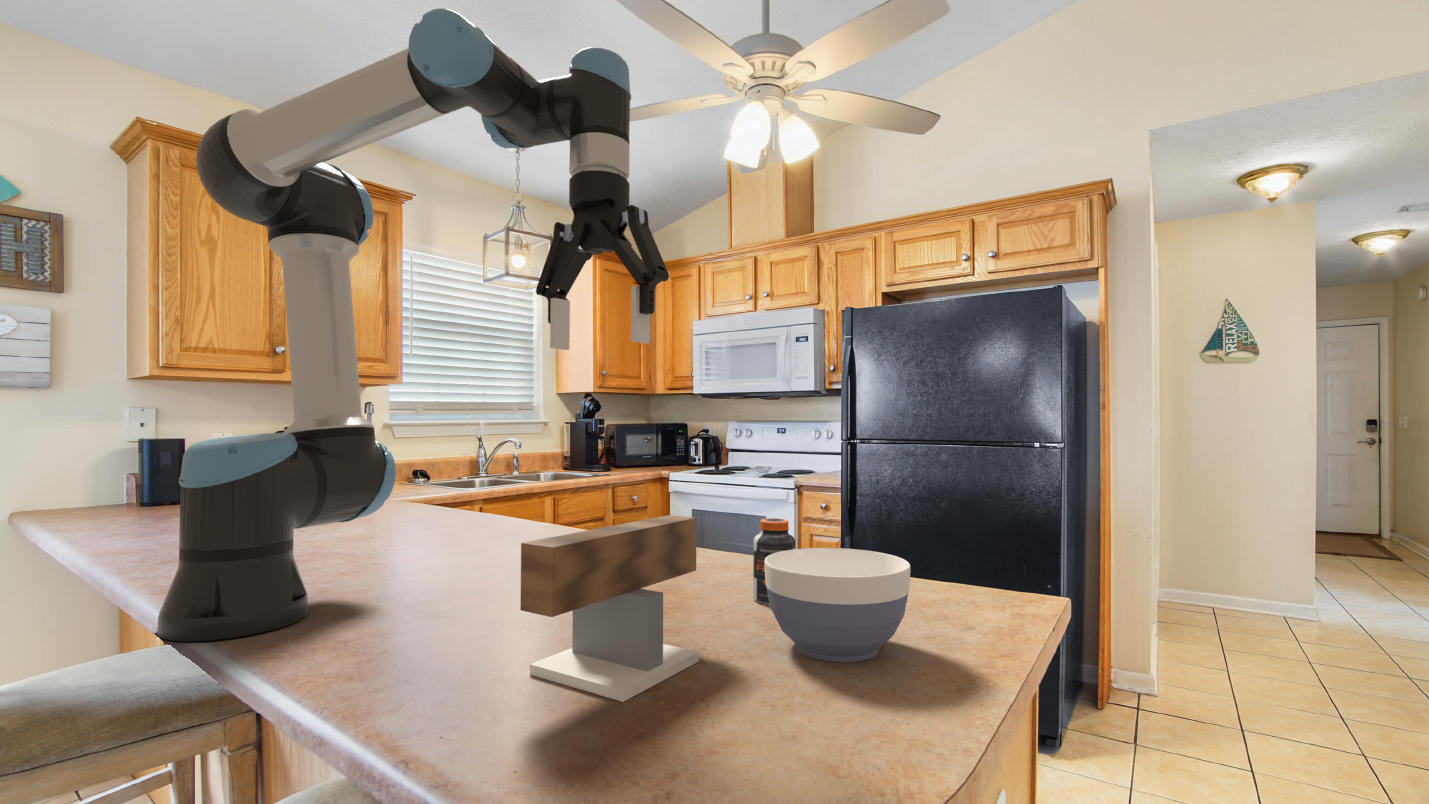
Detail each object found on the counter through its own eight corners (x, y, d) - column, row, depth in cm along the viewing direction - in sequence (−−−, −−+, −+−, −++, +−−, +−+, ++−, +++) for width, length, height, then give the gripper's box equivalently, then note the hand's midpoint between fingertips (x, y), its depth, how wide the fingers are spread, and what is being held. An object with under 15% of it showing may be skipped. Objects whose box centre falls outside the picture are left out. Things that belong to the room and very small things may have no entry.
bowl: (921, 636, 77) (920, 554, 77) (898, 685, 63) (896, 583, 63) (790, 619, 84) (790, 543, 84) (742, 660, 69) (742, 568, 70)
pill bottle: (750, 604, 91) (750, 521, 91) (755, 593, 97) (755, 516, 97) (794, 606, 90) (794, 522, 90) (796, 595, 96) (796, 516, 96)
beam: (551, 617, 57) (552, 547, 57) (520, 610, 59) (521, 542, 60) (696, 570, 76) (696, 517, 76) (668, 566, 78) (668, 515, 78)
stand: (529, 674, 65) (530, 592, 66) (611, 641, 75) (611, 570, 76) (622, 701, 59) (623, 611, 59) (698, 661, 69) (698, 584, 69)
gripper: (697, 167, 80) (697, 342, 79) (552, 204, 94) (550, 354, 93) (659, 145, 74) (658, 335, 73) (509, 188, 87) (507, 348, 87)
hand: (598, 346), depth 83 cm, fingers open, 13 cm apart
